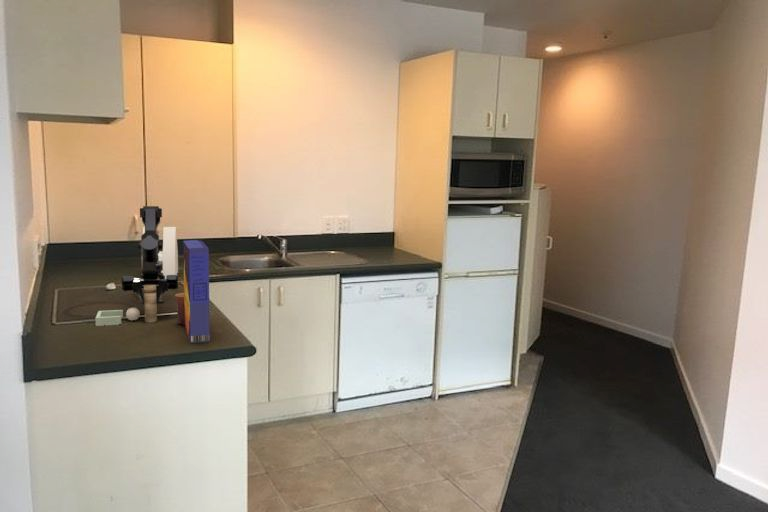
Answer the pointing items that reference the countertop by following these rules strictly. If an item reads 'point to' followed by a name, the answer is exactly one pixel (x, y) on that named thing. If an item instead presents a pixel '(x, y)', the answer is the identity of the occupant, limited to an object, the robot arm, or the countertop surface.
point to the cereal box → (196, 291)
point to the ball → (132, 314)
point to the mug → (180, 308)
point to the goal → (109, 317)
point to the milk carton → (169, 251)
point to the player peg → (150, 302)
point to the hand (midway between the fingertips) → (150, 302)
